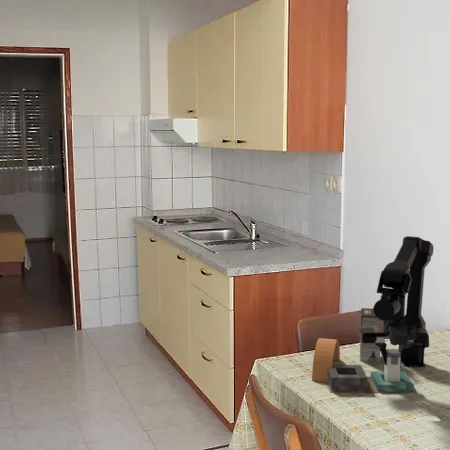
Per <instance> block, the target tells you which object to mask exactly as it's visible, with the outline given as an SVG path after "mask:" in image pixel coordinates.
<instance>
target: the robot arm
mask: <svg viewBox="0 0 450 450" xmlns="http://www.w3.org/2000/svg"><path fill="white" fill-rule="evenodd" d="M433 254H434V245H433V243H432V242H431V241H430V240H425V239H422V238H421V237H420V236H404V237H403V239H402V244H401V246H400V248H399V251H398V253H397V255H395V256H396V257H395V259H394V260H393V261H392V262H389V263H387V264H386V266H385V267H384V268H383V270H382V271H381V272H380V276H379V279H378V280H379V282H378V285H377V288H376V293H377V294H381V295H380V298H379V300H377V301H376V302H375V303H374V305H373V307H372V309H373V311H374V314H375V316H376V317H377V318H378V319H380V320H381V321H383V325H382V330H383V331H381V332H375V331H374V329H373V328H361V329H358V338H359V341H360V340H361V342H362V343H375V345H376V346H378V347H379V349H380V356H381V358H382V360H383V364H385V365H386V364H387V355H386V349H387V345H388V344H387V343H386V340H389V343H390V344H391V345H392V346H398V350H399V352H400V353H401V362H400V366H401V364H403V366H404V367H426V364H425V349H426V348H427V349H428V348H430V336H429V335H430V334H429V333H428V330H427V329H426V328H427V327H426V326H427V323H426V321H425V319H424V317H423V315H422V308H423V307H422V306H423V295H424V294H423V293H424V281H425V269H426V267H427V266H428V265H429V264H430V262H431V260H432V256H433ZM406 297H407V298H406Z"/></svg>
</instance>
